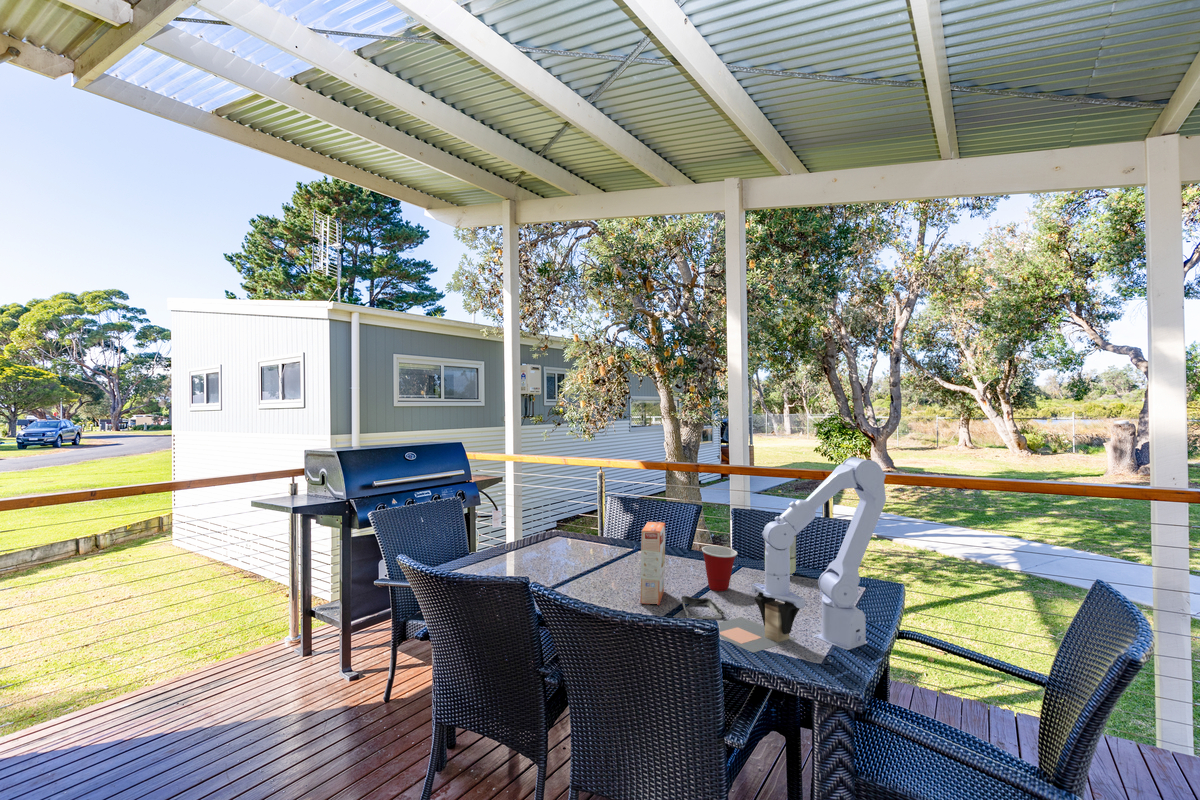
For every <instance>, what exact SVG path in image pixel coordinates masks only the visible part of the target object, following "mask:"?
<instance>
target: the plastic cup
mask: <svg viewBox="0 0 1200 800" xmlns="http://www.w3.org/2000/svg"><path fill="white" fill-rule="evenodd" d="M701 551H702V553H703V560H704V565H705V571H706V572H705V573H706V578H707V583H708V585H707V586H708V588H709V590H712V591H716V592H726V591H728V590H729V587H730V582H731V578H732V571H733V567H734V562H735V559H736V557H737V556H738V551H736V550H735V549H733V548H729V547H727V546H722V545H706V546H703V547H701ZM727 589H728V590H727ZM725 590H726V591H725Z"/></svg>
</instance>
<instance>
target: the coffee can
mask: <svg viewBox="0 0 1200 800" xmlns="http://www.w3.org/2000/svg"><path fill="white" fill-rule="evenodd" d="M765 552H766V541H765V540H764V553H765ZM796 556H797V535H795V536H794V541H793V544H792V545H791V546H790V575H792V574H793V573H795V571H796V569H797V566H796V565H797V562H796V561H797V557H796ZM796 572H797V571H796Z"/></svg>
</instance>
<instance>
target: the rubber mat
mask: <svg viewBox="0 0 1200 800" xmlns="http://www.w3.org/2000/svg"><path fill="white" fill-rule="evenodd" d="M718 623H719V625H720V637H721V638H720V639H722V640H724V641H727V643H731V644H733V645H735V646H737V647H739V648H741V649H743V650H746V651H748V652H749V653H759V652H761V651H763V650H766V649H767V650H768V649H769V648H770V649H771V648H773V647H776V646H779V645H783V644H786V643H789V642H793V641H796V640H797V638H795V637H793V636H791V635H789V639H788V640H784V641H781V642H776V641H773V640H771V639H769V638H766V637H765V626H764V624H763V625H762V624H760V623H758V622H755V621H753V620H751V619H748V618H746V617H743V616H739V617H738V616H737V617H735V618H731V619H727V620H724V621H720V622H718Z"/></svg>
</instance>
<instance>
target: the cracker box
mask: <svg viewBox="0 0 1200 800" xmlns="http://www.w3.org/2000/svg"><path fill="white" fill-rule="evenodd" d="M640 542H641V544H640V595H639V596H640V597H639V599H640V604H641V603H642V604H641V605H650V604H657V605H656V606H660V604H661V601H662V598H663V595H664V593H665V569H666V568H665V567H666V565H665V564H666V522H662V521H647V522H646V524H645V525H644V527H643V528H642V529H641V540H640Z"/></svg>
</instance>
